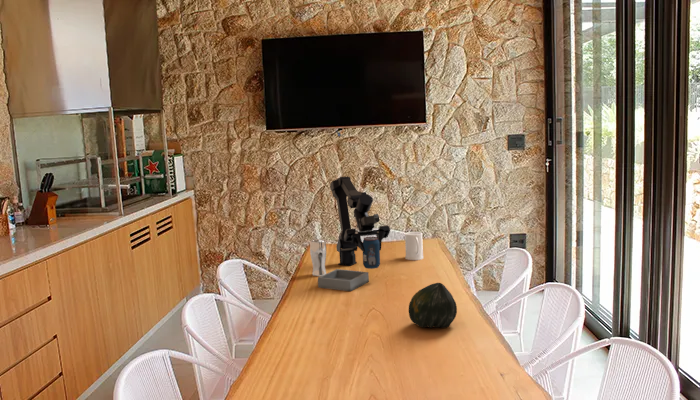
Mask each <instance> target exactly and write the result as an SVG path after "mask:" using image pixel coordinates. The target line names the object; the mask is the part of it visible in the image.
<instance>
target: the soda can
mask: <svg viewBox="0 0 700 400" xmlns="http://www.w3.org/2000/svg"><path fill="white" fill-rule="evenodd" d="M362 243H363V246H364V249H365V252H363V251H362V265H363V267H364V268H365V269H369V270H370V269H371V270H373V269H378V268H379V267H380V265H381V253H380V252H381V250H380V245H379V240H378V238H377V236H364V237H363V240H362Z"/></svg>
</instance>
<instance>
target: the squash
mask: <svg viewBox="0 0 700 400" xmlns="http://www.w3.org/2000/svg"><path fill="white" fill-rule="evenodd" d="M457 307H458V306H457V302H456V300H455V299H454V296H453V295H452V293H451V292H450V291H449V289H448V288H447V287H446V286H445V284H443V283H442V282H436V283H434V282H433V283H431V284H429V285H427V286H425V287H423V288H421V289H419V290H418V291H417V292H415V294H414V295H413V296H412V297H411V300H410V301H409V304H408V316H409V319H410V321H411V323H413V324H414V325H417V326H418V327H420V328H427V327H428V328H433V327H434V328H440V329H444V328H447V327H449V326H451V324H452V323H453V322H454V321H455V319H456V317H457V312H458V308H457Z"/></svg>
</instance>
